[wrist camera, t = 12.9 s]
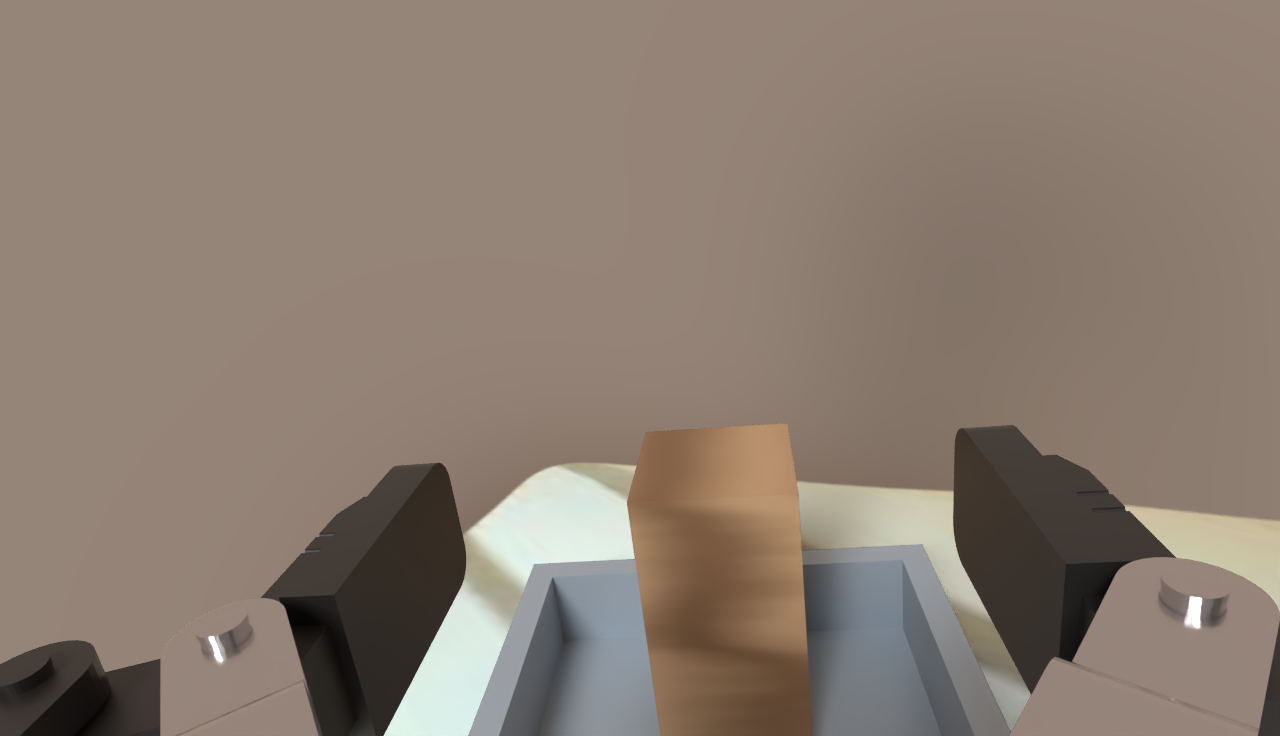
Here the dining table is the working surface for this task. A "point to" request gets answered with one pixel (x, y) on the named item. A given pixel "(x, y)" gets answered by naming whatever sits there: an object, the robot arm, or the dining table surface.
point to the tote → (836, 643)
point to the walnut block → (722, 581)
